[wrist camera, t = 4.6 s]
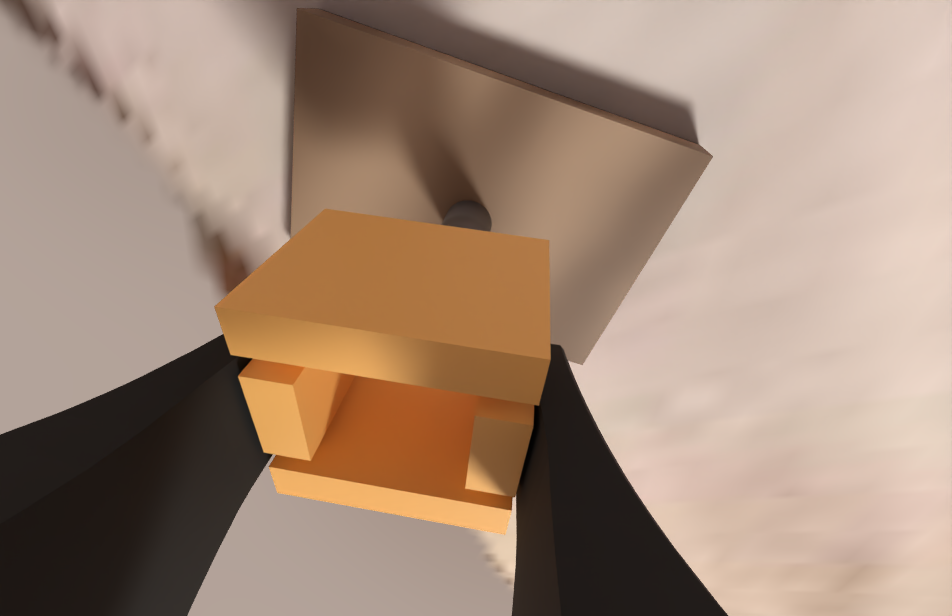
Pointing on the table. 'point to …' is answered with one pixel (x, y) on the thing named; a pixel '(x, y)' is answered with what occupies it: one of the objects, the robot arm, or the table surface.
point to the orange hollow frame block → (396, 364)
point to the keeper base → (484, 162)
